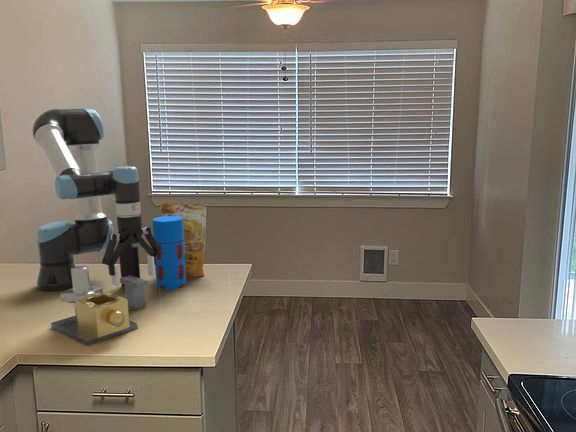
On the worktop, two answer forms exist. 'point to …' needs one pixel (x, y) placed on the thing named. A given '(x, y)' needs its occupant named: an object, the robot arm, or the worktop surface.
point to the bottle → (129, 262)
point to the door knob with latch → (93, 311)
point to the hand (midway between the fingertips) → (134, 279)
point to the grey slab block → (134, 292)
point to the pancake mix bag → (191, 233)
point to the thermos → (170, 252)
